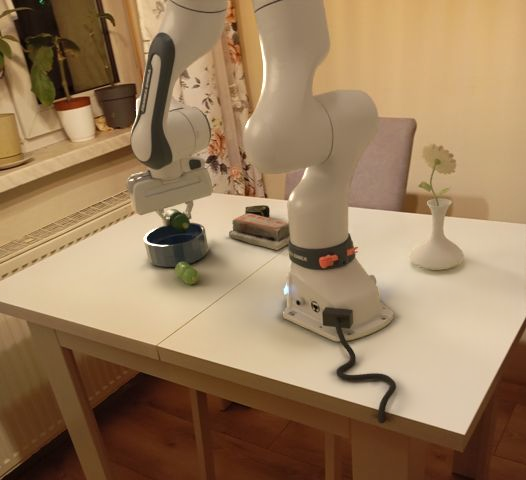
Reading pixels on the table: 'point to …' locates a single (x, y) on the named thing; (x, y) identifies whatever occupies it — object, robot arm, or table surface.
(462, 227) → the table surface
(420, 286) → the table surface
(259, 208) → the tape measure
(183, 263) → the pale zucchini
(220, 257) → the table surface
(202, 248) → the bowl
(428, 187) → the flower in vase
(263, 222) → the packaged product
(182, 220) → the zucchini
